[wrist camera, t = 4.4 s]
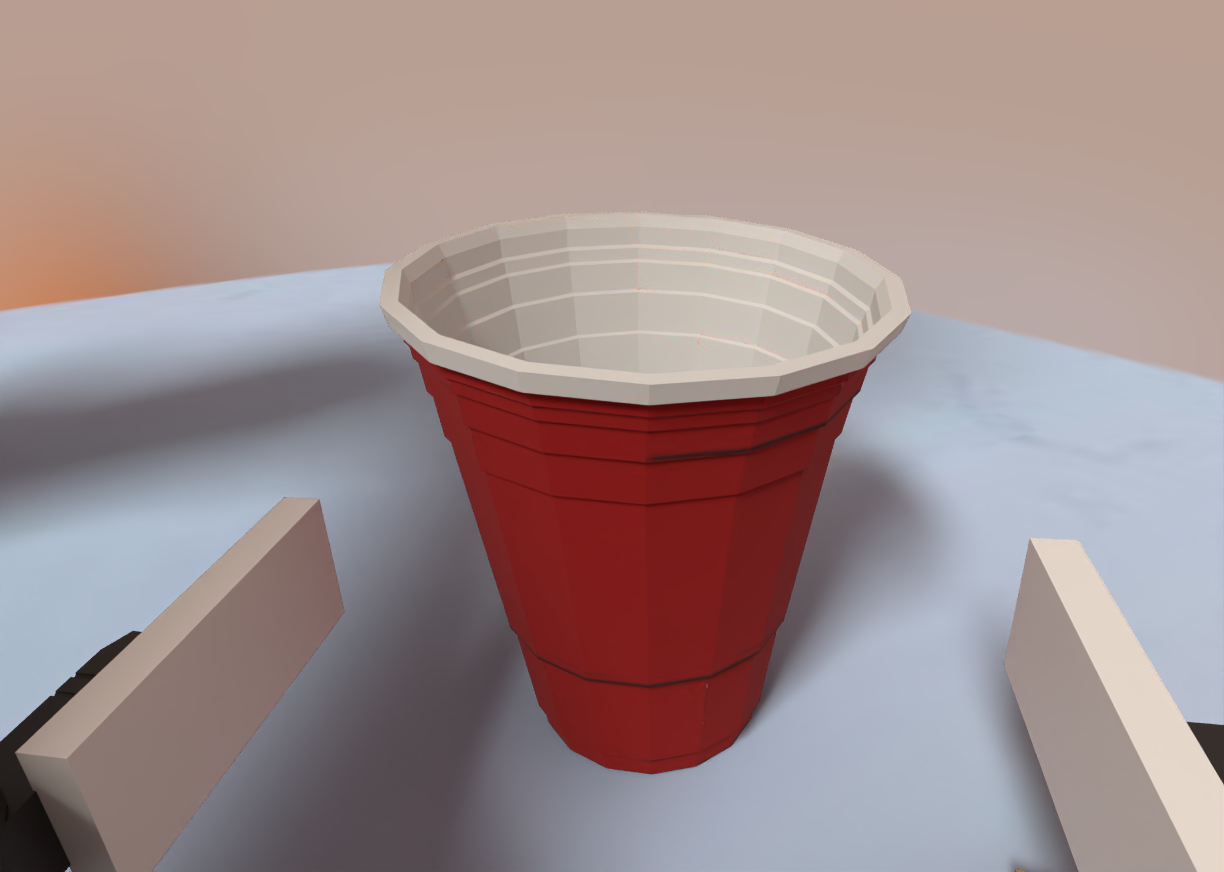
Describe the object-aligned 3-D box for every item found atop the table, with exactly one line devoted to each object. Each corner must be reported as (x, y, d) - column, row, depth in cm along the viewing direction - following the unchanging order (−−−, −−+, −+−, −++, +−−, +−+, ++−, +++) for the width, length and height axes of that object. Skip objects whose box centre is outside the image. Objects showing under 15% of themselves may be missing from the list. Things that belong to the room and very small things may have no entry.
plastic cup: (667, 989, 16) (652, 397, 10) (373, 703, 23) (278, 268, 18) (941, 689, 22) (1015, 239, 17) (647, 541, 29) (637, 192, 24)
